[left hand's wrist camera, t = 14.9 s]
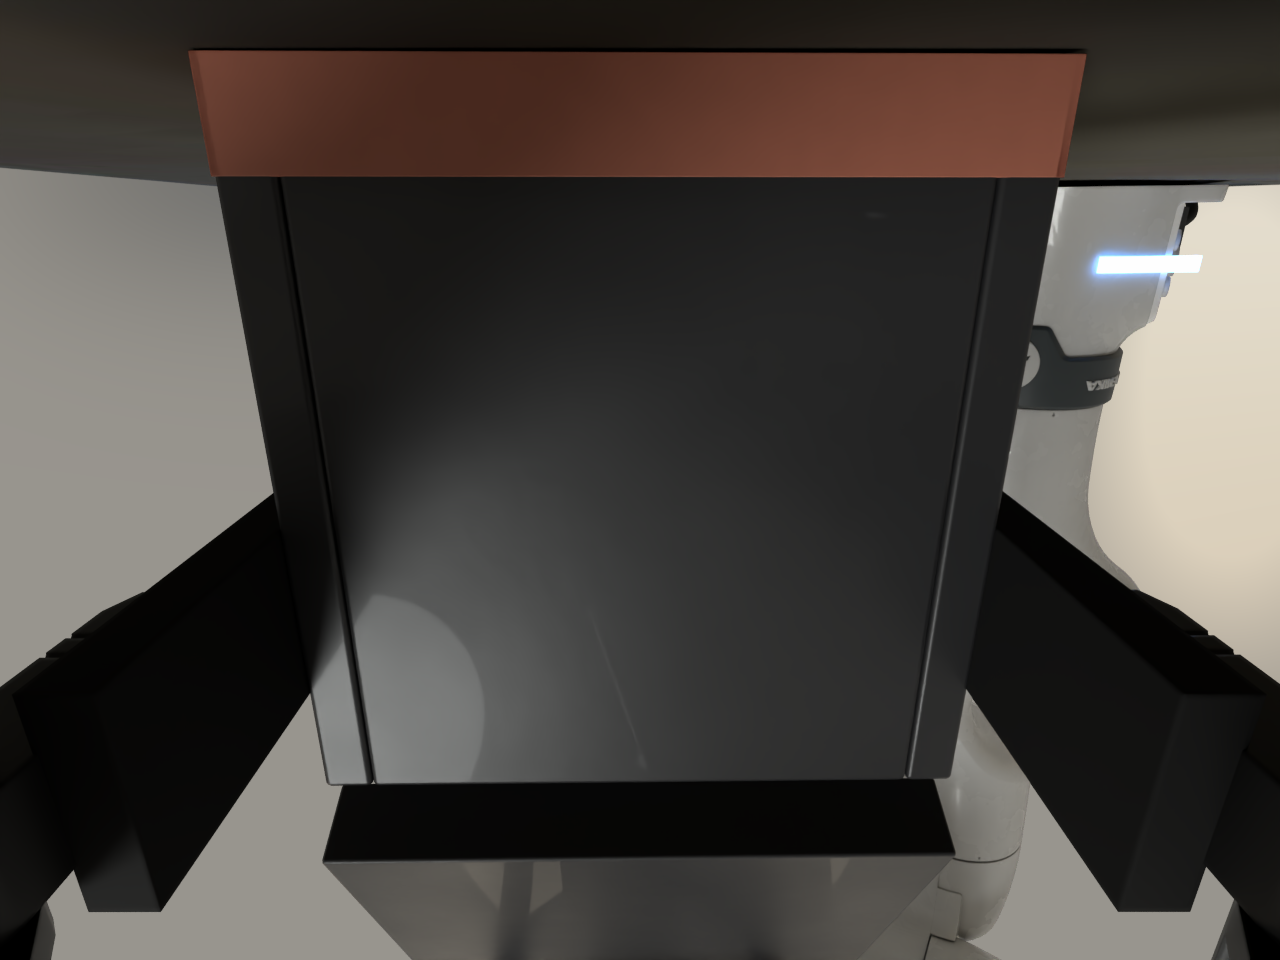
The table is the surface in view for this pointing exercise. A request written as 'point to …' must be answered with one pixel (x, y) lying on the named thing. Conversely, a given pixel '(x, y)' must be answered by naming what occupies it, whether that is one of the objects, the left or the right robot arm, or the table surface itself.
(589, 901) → the lid
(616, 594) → the chest
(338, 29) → the table surface
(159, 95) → the table surface
